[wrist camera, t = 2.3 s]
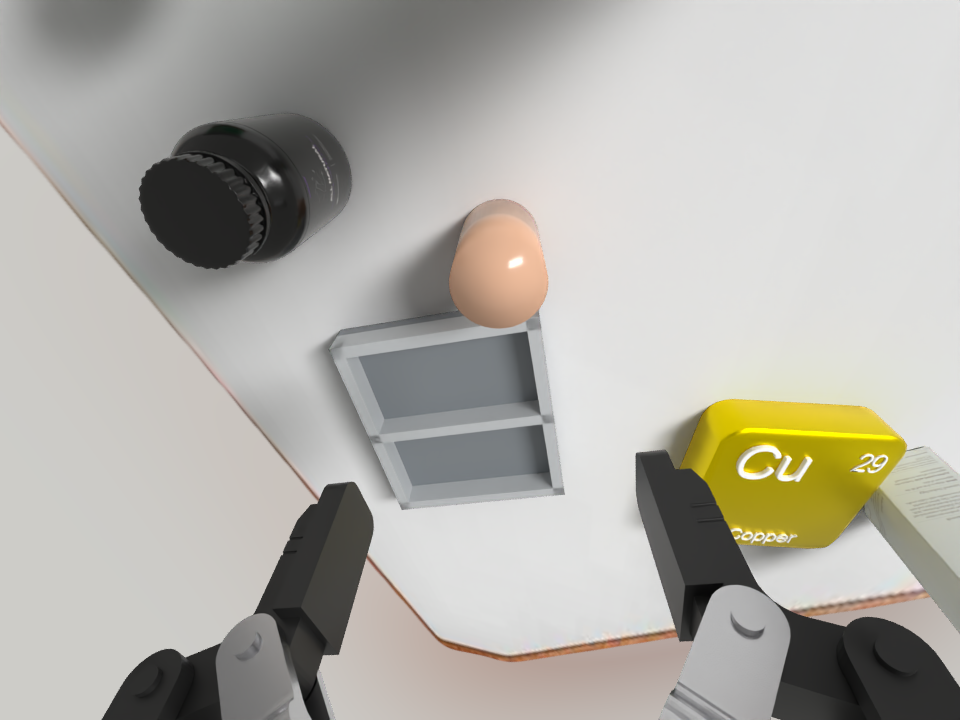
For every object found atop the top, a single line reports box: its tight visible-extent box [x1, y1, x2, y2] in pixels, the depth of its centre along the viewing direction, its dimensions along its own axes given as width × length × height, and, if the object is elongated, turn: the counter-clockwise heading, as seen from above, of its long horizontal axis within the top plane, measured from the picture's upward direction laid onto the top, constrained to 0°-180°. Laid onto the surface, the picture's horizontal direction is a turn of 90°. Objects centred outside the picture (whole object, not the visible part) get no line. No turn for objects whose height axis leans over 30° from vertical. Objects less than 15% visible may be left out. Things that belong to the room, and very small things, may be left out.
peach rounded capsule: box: [449, 199, 548, 329], centre depth 28 cm, size 6×6×8 cm
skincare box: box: [864, 447, 960, 633], centre depth 36 cm, size 8×6×15 cm
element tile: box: [680, 399, 907, 549], centre depth 40 cm, size 15×15×5 cm
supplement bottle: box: [139, 113, 352, 269], centre depth 24 cm, size 7×7×12 cm
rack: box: [329, 310, 565, 510], centre depth 38 cm, size 16×19×3 cm
